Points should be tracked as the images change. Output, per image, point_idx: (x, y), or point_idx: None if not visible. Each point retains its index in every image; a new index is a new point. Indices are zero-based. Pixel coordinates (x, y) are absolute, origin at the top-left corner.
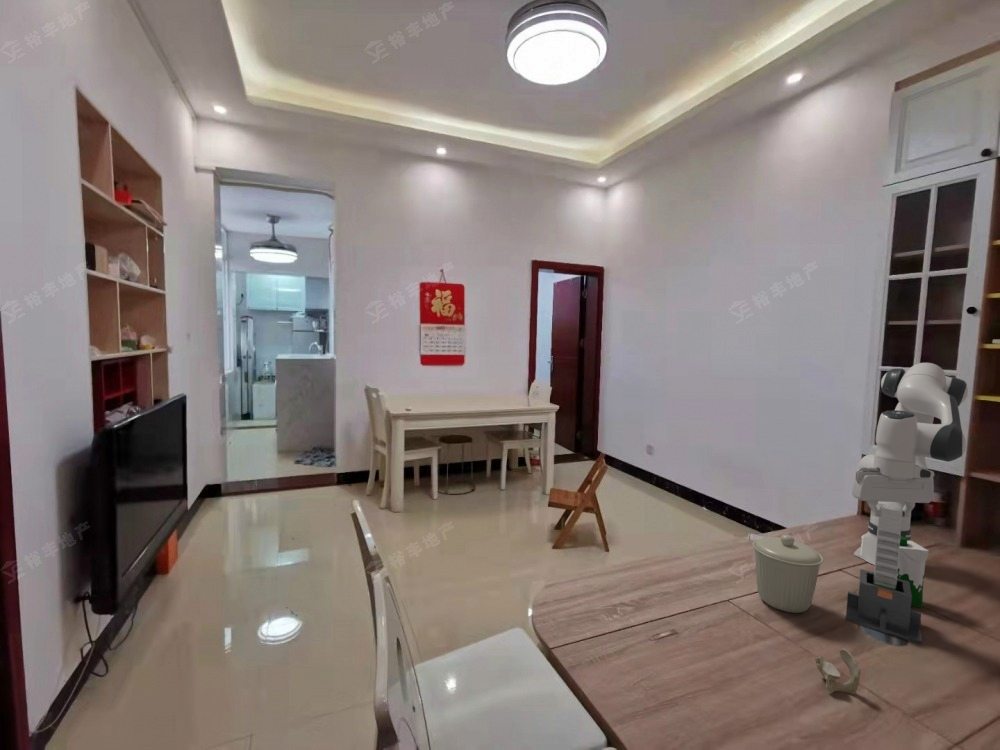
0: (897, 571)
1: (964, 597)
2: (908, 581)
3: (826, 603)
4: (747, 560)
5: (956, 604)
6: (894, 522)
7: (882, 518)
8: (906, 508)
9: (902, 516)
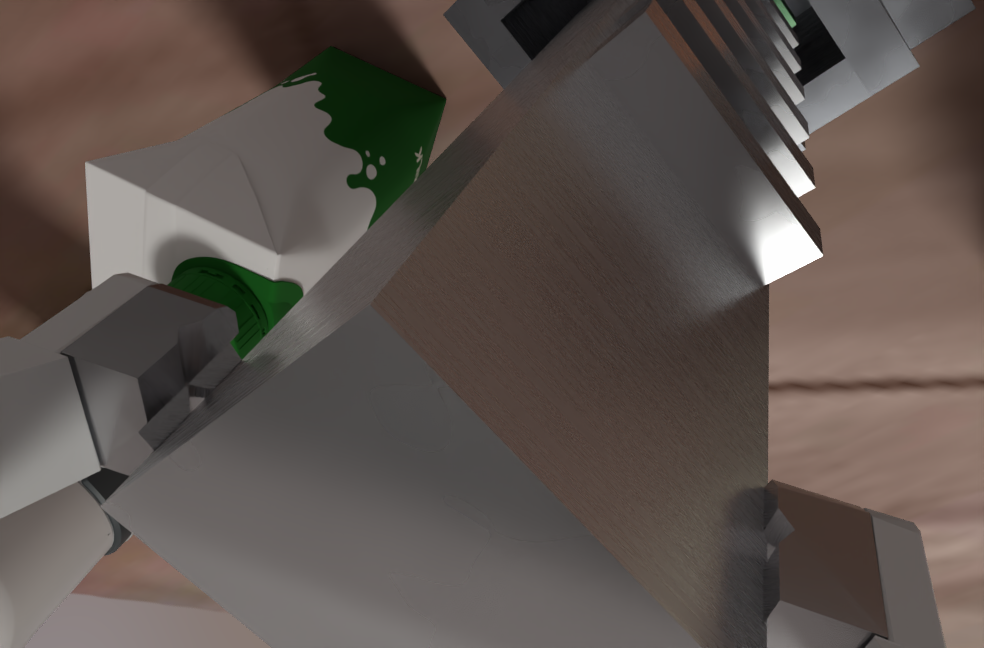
0: (360, 179)
1: (56, 89)
2: (446, 17)
3: (858, 187)
4: None
5: (135, 44)
6: (596, 234)
7: (730, 421)
8: (14, 442)
9: (232, 336)
